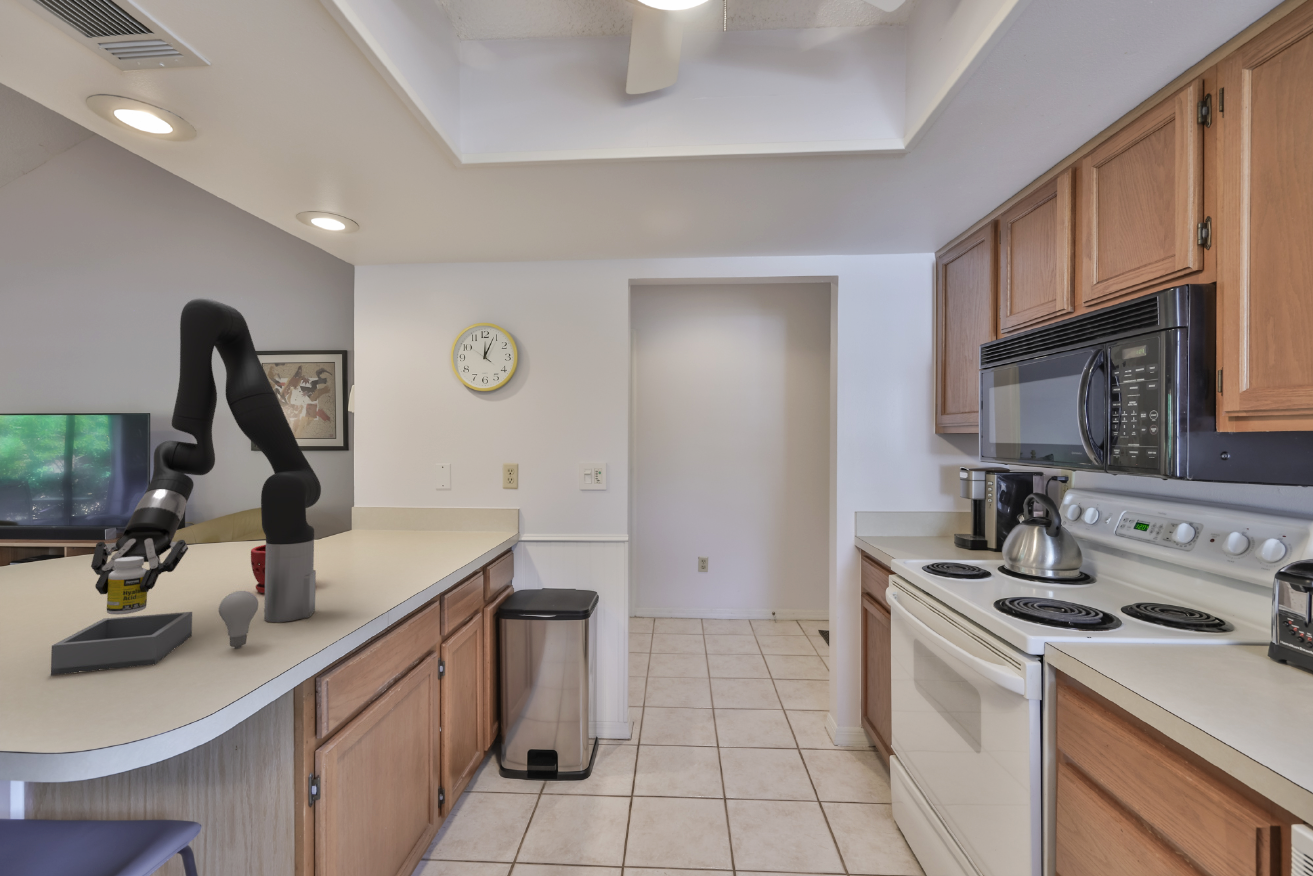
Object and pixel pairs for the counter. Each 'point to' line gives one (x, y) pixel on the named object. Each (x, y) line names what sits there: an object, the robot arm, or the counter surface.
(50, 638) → the counter surface
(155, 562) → the robot arm
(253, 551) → the plant pot
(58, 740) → the counter surface
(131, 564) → the supplement bottle
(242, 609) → the lightbulb
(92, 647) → the tote
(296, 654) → the counter surface
